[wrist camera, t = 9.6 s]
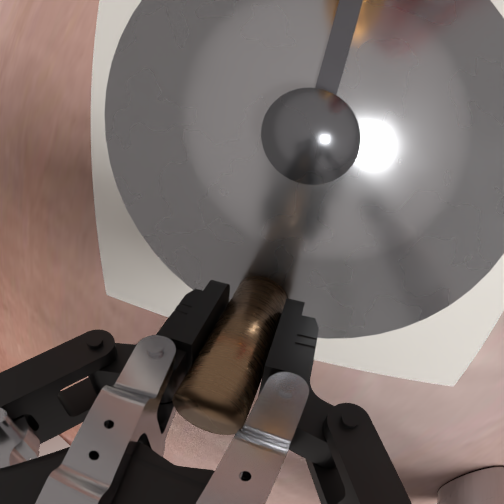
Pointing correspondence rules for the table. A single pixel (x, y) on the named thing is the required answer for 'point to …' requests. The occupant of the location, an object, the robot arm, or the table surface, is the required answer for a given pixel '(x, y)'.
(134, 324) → the table surface
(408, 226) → the grey round piece
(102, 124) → the stand
